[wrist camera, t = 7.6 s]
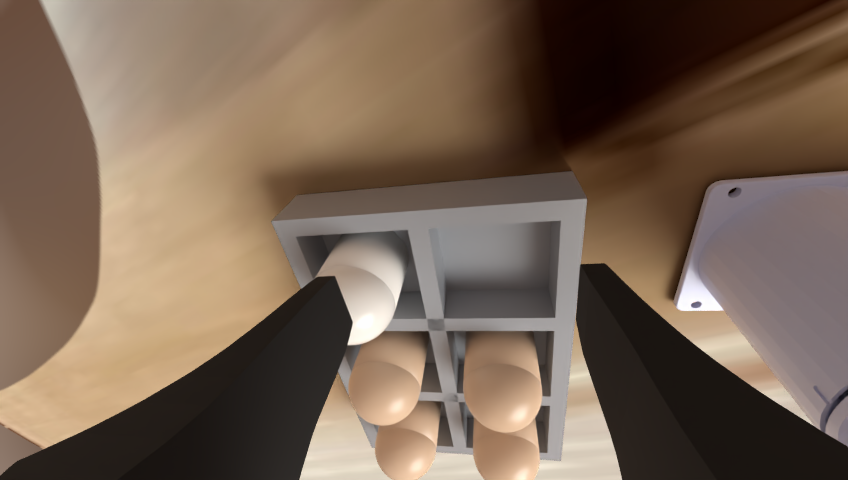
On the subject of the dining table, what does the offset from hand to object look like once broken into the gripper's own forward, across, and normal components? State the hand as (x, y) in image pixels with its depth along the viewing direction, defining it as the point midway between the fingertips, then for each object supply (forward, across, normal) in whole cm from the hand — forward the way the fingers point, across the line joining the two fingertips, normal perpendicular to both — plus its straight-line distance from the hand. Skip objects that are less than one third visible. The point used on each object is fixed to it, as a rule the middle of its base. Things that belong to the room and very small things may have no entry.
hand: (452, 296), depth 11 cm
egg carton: (+9, +3, +11) cm, 15 cm away
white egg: (+9, +6, +4) cm, 11 cm away
